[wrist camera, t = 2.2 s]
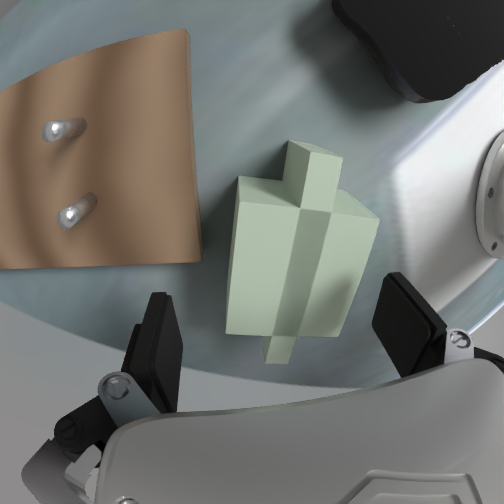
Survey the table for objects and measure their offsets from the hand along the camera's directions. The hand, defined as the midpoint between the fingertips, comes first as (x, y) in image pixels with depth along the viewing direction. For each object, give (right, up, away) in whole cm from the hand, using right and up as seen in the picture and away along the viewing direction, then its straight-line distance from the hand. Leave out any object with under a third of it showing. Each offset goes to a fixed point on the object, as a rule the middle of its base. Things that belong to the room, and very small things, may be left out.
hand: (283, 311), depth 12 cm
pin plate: (-15, +8, +2) cm, 18 cm away
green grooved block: (+1, +3, +6) cm, 7 cm away
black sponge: (+11, +18, -1) cm, 21 cm away
